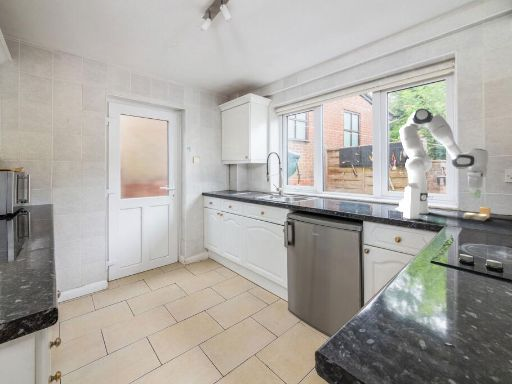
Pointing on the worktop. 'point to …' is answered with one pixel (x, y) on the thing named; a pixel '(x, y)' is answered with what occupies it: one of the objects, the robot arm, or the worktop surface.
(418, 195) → the milk
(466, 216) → the base board
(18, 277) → the worktop surface
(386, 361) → the worktop surface
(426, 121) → the robot arm
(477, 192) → the sage block
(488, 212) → the orange block
